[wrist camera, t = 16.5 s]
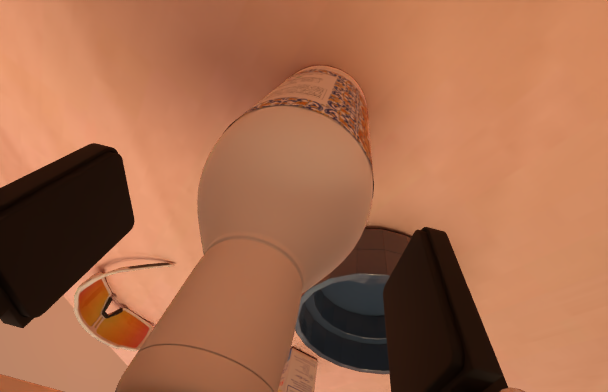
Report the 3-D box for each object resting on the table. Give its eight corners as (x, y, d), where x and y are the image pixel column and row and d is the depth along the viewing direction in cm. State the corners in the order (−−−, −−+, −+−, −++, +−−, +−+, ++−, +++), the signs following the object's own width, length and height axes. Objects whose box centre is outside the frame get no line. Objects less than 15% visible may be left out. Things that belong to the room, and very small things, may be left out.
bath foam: (351, 164, 23) (328, 521, 7) (271, 142, 24) (56, 437, 7) (381, 78, 20) (500, 407, 3) (286, 52, 20) (-113, 226, 3)
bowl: (293, 301, 34) (282, 350, 29) (319, 209, 26) (310, 254, 21) (408, 333, 34) (416, 388, 29) (469, 248, 26) (495, 303, 21)
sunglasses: (77, 267, 38) (46, 297, 33) (172, 239, 35) (152, 268, 31) (140, 331, 44) (121, 363, 40) (225, 312, 41) (215, 344, 37)
